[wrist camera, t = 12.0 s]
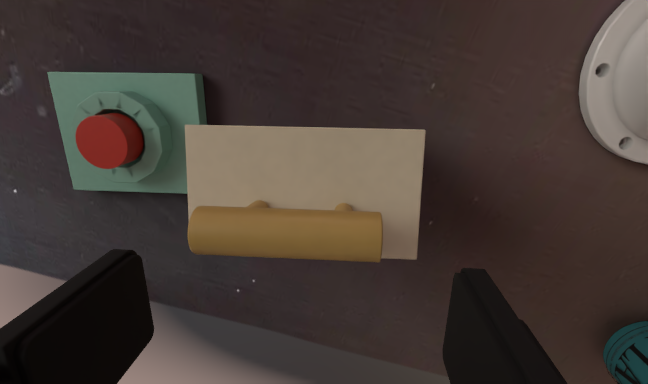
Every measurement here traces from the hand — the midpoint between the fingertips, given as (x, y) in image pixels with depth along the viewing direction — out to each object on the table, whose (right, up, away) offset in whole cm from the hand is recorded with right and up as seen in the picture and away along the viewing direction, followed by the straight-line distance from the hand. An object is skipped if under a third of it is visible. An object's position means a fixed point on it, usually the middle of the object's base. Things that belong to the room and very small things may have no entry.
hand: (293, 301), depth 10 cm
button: (-14, +7, +15) cm, 21 cm away
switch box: (-14, +8, +17) cm, 23 cm away
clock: (0, +7, +8) cm, 10 cm away
